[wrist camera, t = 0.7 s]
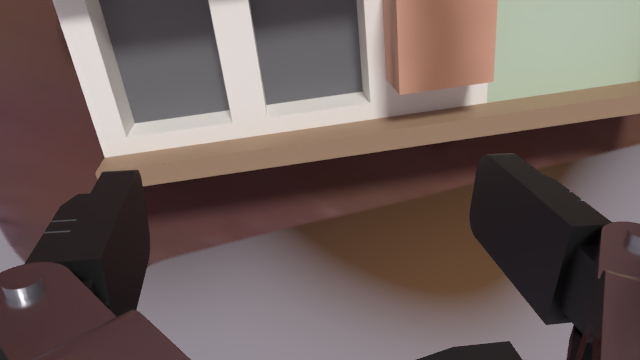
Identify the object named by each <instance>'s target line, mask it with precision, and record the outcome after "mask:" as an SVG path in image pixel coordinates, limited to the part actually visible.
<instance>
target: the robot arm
mask: <svg viewBox="0 0 640 360" xmlns="http://www.w3.org/2000/svg"><path fill="white" fill-rule="evenodd" d="M470 225H471V230H472V232H473V234H474V236H475V238H476V239H477V240H478V241H479V243H480V244H481V245H482V246H483V247H484V249H485V250H486V251H487V252H488V254H489V255H490V256H491V257H492V259H493V260H494V261H495V262H496V264H497V265H498V266H499V267H500V268H501V270H502V271H503V272H504V274H505V275H506V276H507V277H508V278H509V280H510V281H511V282H512V283H513V285H514V286H515V287H516V288H517V290H518V291H519V292H520V293H521V295H522V296H523V297H524V298H525V299H526V301H527V302H528V303H529V304H530V306H531V307H532V308H533V309H534V310H535V312H536V313H537V314H538V316H539V317H540V318H541V319H542V320H543V322H544V323H545V324H546V325H550V324H559V323H569V322H572V323H573V324H574V326H573V329H572V332H571V336H570V339H569V346H568V353H567V360H640V224H638V223H632V222H613V223H612V222H611V221H609V220H608V219H607V218H605V217H604V216H603V215H602V214H600V213H599V212H598V211H596V210H595V209H594V208H592V207H591V206H590V205H588V204H587V203H586V202H584V201H581V199H580V198H579V197H578V196H576V195H575V194H574V193H572V192H569V190H568V189H567V188H566V187H565V186H563V185H562V184H560V183H559V182H558V181H557V180H555V179H552V178H550V177H548V176H546V175H543V174H541V173H540V172H539V171H538V170H536V169H535V168H534V167H532V166H531V165H530V164H528V163H527V162H526V161H525V160H523V159H522V158H521V157H519V156H518V155H517V154H515V153H506V154H485V155H483V156H482V157H481V158H480V159H479V162H478V165H477V171H476V177H475V183H474V189H473V195H472V201H471V208H470ZM149 256H150V233H149V226H148V219H147V212H146V205H145V198H144V191H143V184H142V179H141V175H140V172H139V170H123V171H103V172H102V173H101V175H100V177H99V179H98V180H97V182H96V184H95V186H94V188H93V190H92V192H91V193H90V194H78V195H76V196H75V197H73V198H72V199H70V200H69V201H67V202H66V203H65V204H63V205H62V206H60V208H59V209H58V211H57V213H56V214H55V216H54V217H53V219H52V222H50V224H49V226H48V227H47V229H46V230H45V234H43V235H42V237H41V238H40V240H39V242H38V243H37V245H36V246H35V248H34V250H33V251H32V253H31V254H30V256H29V258H28V259H27V261H26V263H25V264H24V265H20V266H16V267H13V268H11V269H8V270H6V271H3V272H1V273H0V360H191V359H190V358H188V357H187V356H186V355H185V354H184V353H183V352H182V351H181V350H180V349H179V348H178V347H177V346H176V345H175V344H173V343H172V342H171V341H170V340H169V339H168V338H167V337H166V336H165V335H164V334H163V333H162V332H160V331H159V330H158V329H157V328H156V327H155V326H154V325H153V324H152V323H151V322H150V321H149V320H147V319H146V318H145V317H144V316H143V315H142V314H141V313H140V312H138V311H137V310H136V309H137V305H138V301H139V297H140V292H141V289H142V285H143V281H144V277H145V273H146V269H147V265H148V261H149ZM417 360H522V359H521V357H520V356H519V354H518V353H517V351H516V350H515V348H514V347H513V346H512V344H511V343H510V341H508V342H497V343H488V344H478V345H469V346H459V347H452V348H449V349H446V350H443V351H441V352H437V353H435V354H432V355H429V356H426V357H423V358H420V359H417Z"/></svg>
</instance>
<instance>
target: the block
mask: <svg viewBox="0 0 640 360" xmlns="http://www.w3.org/2000/svg"><path fill="white" fill-rule="evenodd" d="M497 5H498V0H383V21H384V42H385V63H386V79H387V81H388V82H389V83H390V84H391V85H392V87H393V88H394V89H395V90H396V91H397V93H398V94H399V95H404V94H411V93H418V92H425V91H432V90H439V89H446V88H454V87H461V86H468V85H475V84H482V83H489V82H494V63H495V44H496V25H497Z"/></svg>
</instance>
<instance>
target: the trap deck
mask: <svg viewBox="0 0 640 360" xmlns="http://www.w3.org/2000/svg"><path fill="white" fill-rule="evenodd" d="M53 3H54V6H55V9H56V12H57V15H58V18H59V21H60V24H61V27H62V30H63V33H64V36H65V39H66V42H67V45H68V48H69V51H70V54H71V57H72V60H73V63H74V66H75V69H76V72H77V75H78V78H79V81H80V84H81V87H82V90H83V93H84V96H85V99H86V103H87V106H88V109H89V112H90V115H91V118H92V121H93V124H94V127H95V130H96V133H97V136H98V139H99V142H100V145H101V148H102V151H103V154H104V157H105V158H104V160H103V161H102V163H101V165H100V166H99V168H98V169H97V171H96V173H95V174H96V176H97V179H99V177H100V175H101V173H102V172H103V171H123V170H139V172H140V175H141V179H142V184H143V186H149V185H156V184H163V183H170V182H177V181H183V180H190V179H197V178H204V177H211V176H217V175H224V174H231V173H238V172H245V171H251V170H258V169H265V168H272V167H279V166H285V165H292V164H299V163H306V162H313V161H319V160H326V159H333V158H340V157H347V156H353V155H360V154H367V153H374V152H381V151H387V150H394V149H401V148H408V147H415V146H421V145H428V144H435V143H442V142H449V141H455V140H462V139H469V138H476V137H483V136H489V135H496V134H503V133H510V132H517V131H523V130H530V129H537V128H544V127H551V126H557V125H564V124H571V123H578V122H585V121H591V120H598V119H605V118H612V117H619V116H625V115H632V114H639V113H640V0H498V5H497V25H496V44H495V63H494V82H489V83H482V84H475V85H468V86H461V87H454V88H446V89H439V90H432V91H425V92H418V93H411V94H404V95H399V94H398V93H397V91H396V90H395V89H394V88H393V87H392V85H391V84H390V83H389V82H388V81H387V79H386V63H385V42H384V21H383V0H53Z"/></svg>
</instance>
